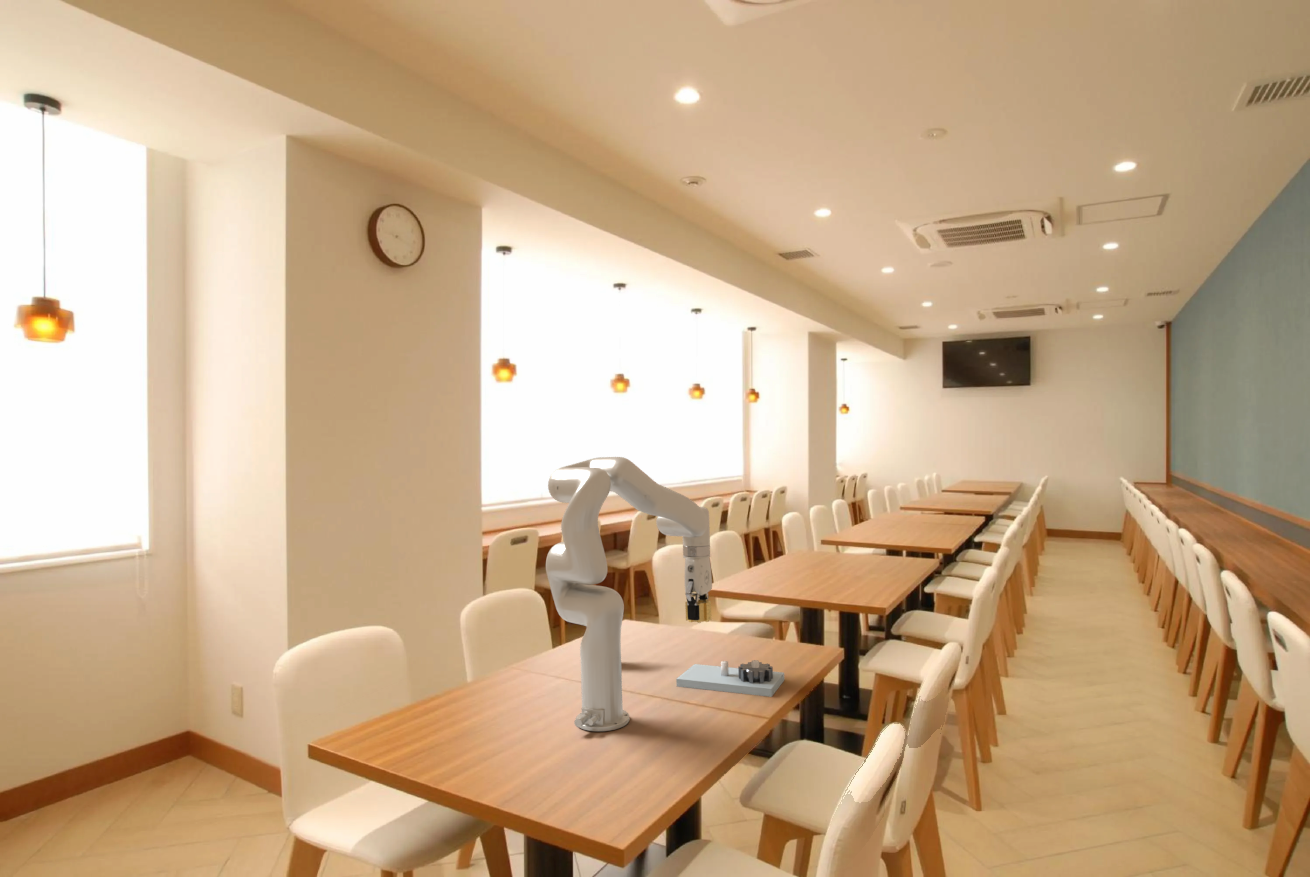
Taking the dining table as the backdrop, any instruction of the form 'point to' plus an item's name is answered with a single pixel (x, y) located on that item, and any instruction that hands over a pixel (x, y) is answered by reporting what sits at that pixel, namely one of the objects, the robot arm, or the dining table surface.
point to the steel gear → (755, 673)
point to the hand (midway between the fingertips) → (698, 616)
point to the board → (727, 680)
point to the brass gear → (701, 611)
